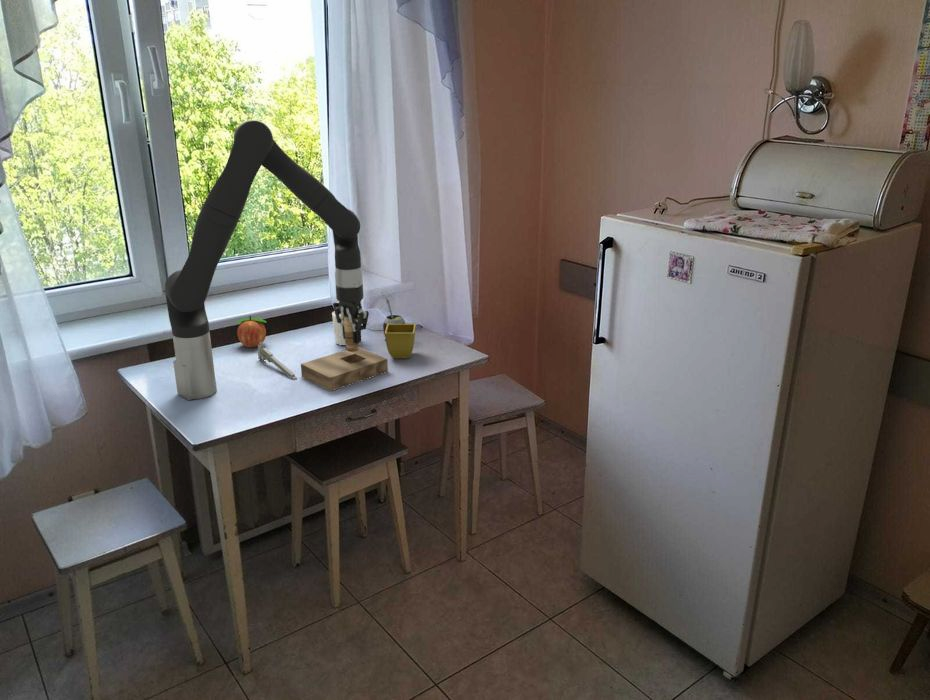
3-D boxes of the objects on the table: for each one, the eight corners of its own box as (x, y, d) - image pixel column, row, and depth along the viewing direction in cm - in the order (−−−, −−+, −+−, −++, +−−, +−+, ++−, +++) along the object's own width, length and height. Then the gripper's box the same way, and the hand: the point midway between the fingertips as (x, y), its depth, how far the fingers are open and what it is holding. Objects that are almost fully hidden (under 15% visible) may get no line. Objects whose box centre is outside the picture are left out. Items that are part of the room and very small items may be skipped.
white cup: (334, 338, 244) (332, 309, 240) (359, 338, 245) (357, 308, 241) (333, 347, 236) (331, 317, 233) (358, 346, 237) (357, 316, 234)
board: (330, 391, 205) (329, 377, 203) (301, 376, 214) (300, 363, 213) (387, 371, 218) (387, 358, 217) (358, 358, 227) (357, 346, 226)
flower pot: (388, 350, 234) (387, 323, 231) (416, 350, 234) (415, 323, 231) (385, 361, 226) (384, 332, 223) (414, 361, 226) (414, 333, 223)
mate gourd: (404, 344, 239) (403, 299, 234) (379, 344, 239) (377, 299, 234) (407, 336, 246) (406, 292, 240) (383, 336, 246) (381, 292, 241)
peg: (351, 353, 213) (349, 319, 209) (342, 349, 216) (340, 316, 212) (362, 349, 216) (361, 316, 212) (354, 346, 218) (352, 313, 215)
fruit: (263, 350, 233) (261, 320, 229) (233, 350, 233) (229, 319, 230) (271, 341, 241) (268, 311, 238) (241, 340, 241) (238, 311, 238)
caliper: (258, 360, 226) (256, 341, 224) (261, 360, 227) (259, 340, 224) (294, 381, 212) (292, 360, 210) (297, 380, 213) (295, 359, 211)
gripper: (322, 280, 211) (326, 337, 217) (353, 290, 201) (357, 350, 208) (344, 275, 216) (347, 331, 222) (375, 285, 206) (378, 343, 213)
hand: (352, 340), depth 215 cm, fingers closed on peg, 4 cm apart
